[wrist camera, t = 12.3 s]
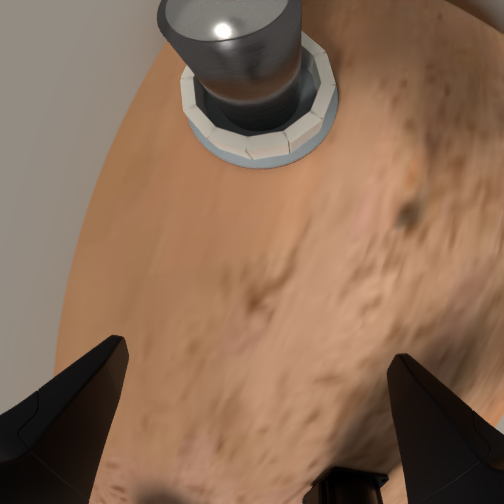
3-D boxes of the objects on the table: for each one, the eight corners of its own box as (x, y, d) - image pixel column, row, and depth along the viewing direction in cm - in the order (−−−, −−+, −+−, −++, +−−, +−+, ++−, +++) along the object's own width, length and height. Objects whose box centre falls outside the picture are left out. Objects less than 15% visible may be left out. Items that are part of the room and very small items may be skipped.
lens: (301, 63, 17) (300, -45, 7) (298, 133, 17) (300, 48, 7) (224, 62, 17) (170, -34, 7) (216, 131, 18) (142, 58, 8)
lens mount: (353, 65, 17) (361, 42, 14) (306, 192, 18) (309, 187, 15) (222, 29, 18) (211, 5, 14) (168, 143, 19) (147, 132, 16)
